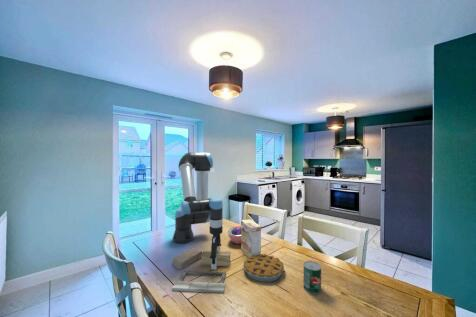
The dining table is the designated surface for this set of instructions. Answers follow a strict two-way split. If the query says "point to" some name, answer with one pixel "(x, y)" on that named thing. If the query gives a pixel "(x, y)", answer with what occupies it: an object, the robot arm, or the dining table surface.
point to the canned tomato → (312, 277)
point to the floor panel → (200, 283)
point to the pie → (263, 267)
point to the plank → (222, 258)
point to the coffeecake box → (250, 237)
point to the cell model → (235, 234)
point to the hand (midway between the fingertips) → (216, 262)
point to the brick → (186, 258)
